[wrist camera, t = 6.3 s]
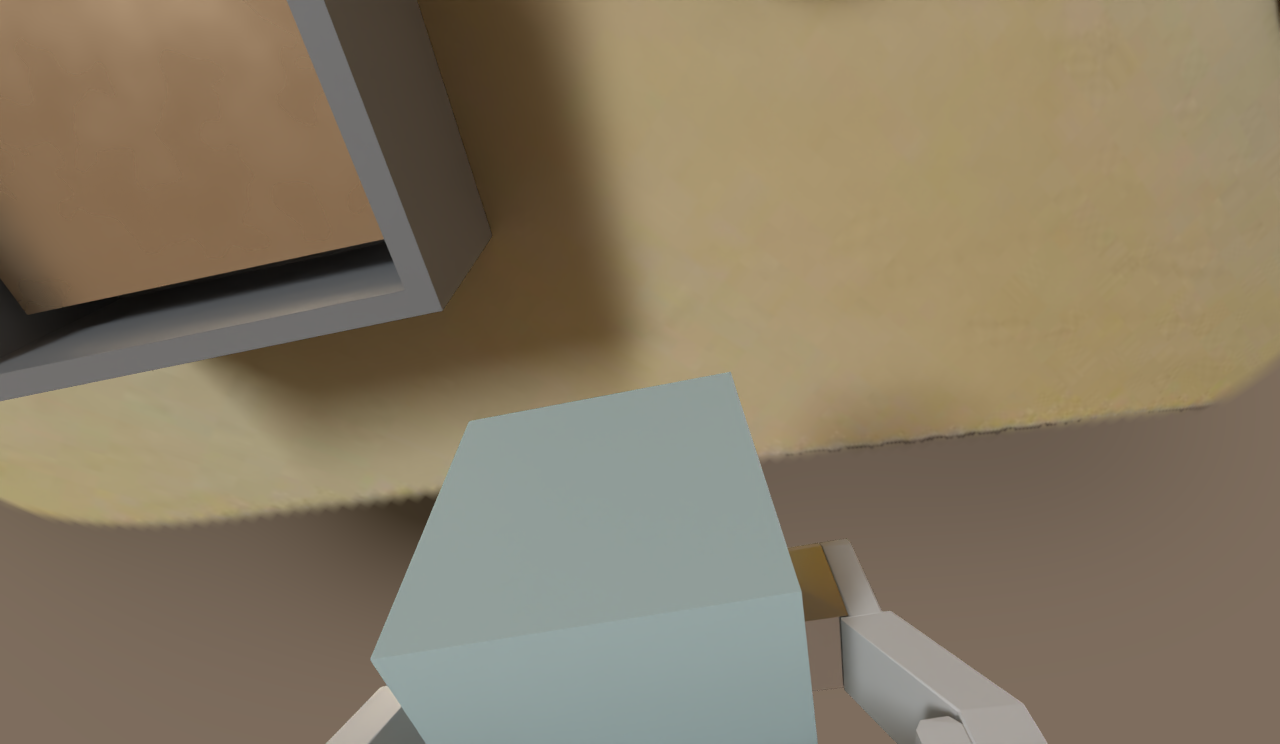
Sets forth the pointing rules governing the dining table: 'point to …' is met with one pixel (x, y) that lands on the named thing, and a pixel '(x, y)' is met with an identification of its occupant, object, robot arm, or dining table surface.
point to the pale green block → (604, 583)
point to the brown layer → (163, 147)
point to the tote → (309, 285)
